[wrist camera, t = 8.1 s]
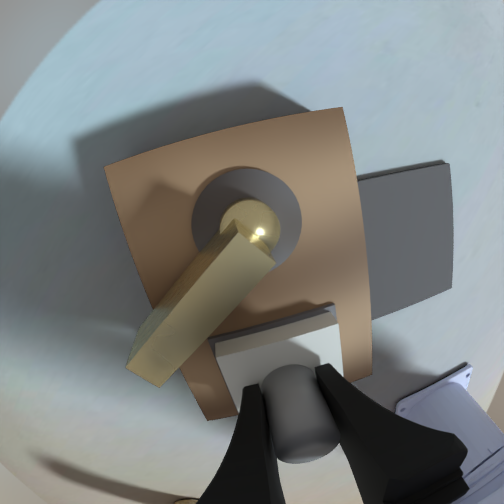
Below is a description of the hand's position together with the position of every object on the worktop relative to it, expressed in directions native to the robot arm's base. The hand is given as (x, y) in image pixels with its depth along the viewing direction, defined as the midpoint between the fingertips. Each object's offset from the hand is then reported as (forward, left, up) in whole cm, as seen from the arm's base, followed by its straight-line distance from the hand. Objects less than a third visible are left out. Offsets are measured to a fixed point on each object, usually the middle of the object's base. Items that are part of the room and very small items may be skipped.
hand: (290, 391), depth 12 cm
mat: (+3, -8, -5) cm, 10 cm away
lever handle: (+6, +2, -1) cm, 6 cm away
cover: (0, 0, -1) cm, 1 cm away
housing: (+4, 0, -5) cm, 6 cm away
